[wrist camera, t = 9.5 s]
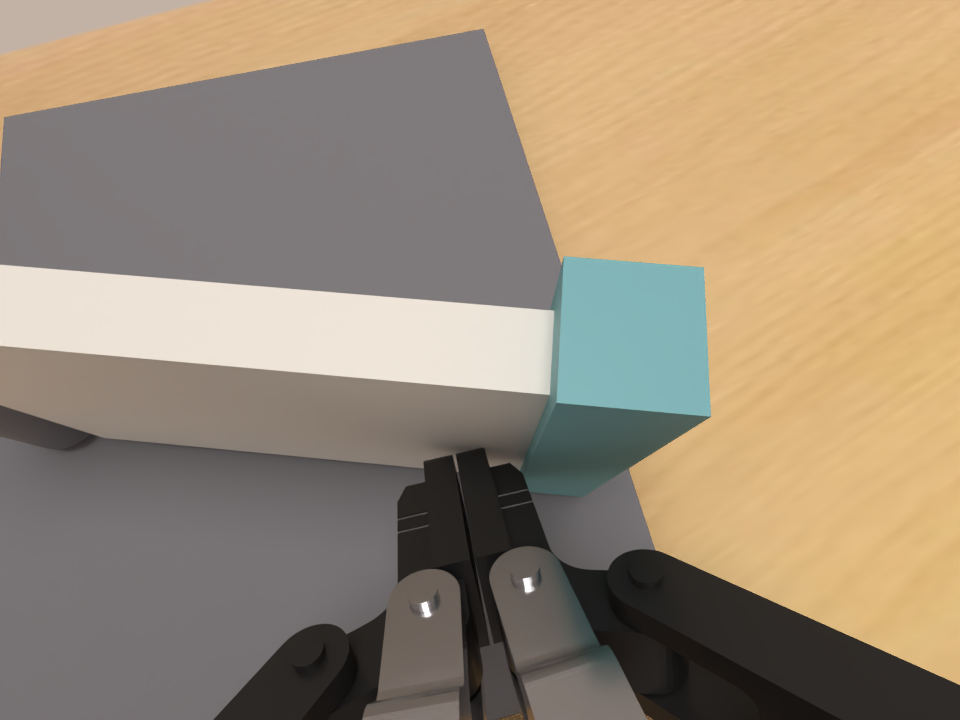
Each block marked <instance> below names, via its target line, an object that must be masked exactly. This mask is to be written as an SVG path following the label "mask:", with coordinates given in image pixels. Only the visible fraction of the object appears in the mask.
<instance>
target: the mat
mask: <svg viewBox="0 0 960 720" xmlns="http://www.w3.org/2000/svg"><path fill="white" fill-rule="evenodd" d="M0 265H10V266H22V267H34V268H46V269H58V270H70V271H82V272H94V273H106V274H118V275H130V276H143V277H155V278H167V279H179V280H191V281H203V282H215V283H227V284H239V285H251V286H263V287H275V288H287V289H299V290H311V291H323V292H335V293H347V294H359V295H371V296H383V297H395V298H407V299H419V300H431V301H443V302H455V303H467V304H479V305H492V306H504V307H516V308H528V309H540V310H550V308H551V304H552V300H553V296H554V293H555V289H556V285H557V281H558V277H559V273H560V270H561V263H560V260H559V257H558V254H557V251H556V248H555V245H554V242H553V238H552V235H551V232H550V229H549V226H548V223H547V220H546V217H545V214H544V211H543V208H542V205H541V202H540V199H539V196H538V193H537V190H536V187H535V184H534V181H533V178H532V175H531V172H530V169H529V166H528V163H527V160H526V157H525V154H524V150H523V147H522V144H521V141H520V138H519V135H518V132H517V129H516V126H515V123H514V120H513V117H512V114H511V111H510V108H509V105H508V102H507V99H506V96H505V93H504V90H503V87H502V84H501V81H500V78H499V75H498V72H497V69H496V65H495V62H494V59H493V56H492V53H491V50H490V47H489V44H488V41H487V38H486V35H485V32H484V29H480V30H474V31H469V32H464V33H458V34H453V35H447V36H442V37H437V38H431V39H426V40H420V41H415V42H409V43H404V44H399V45H393V46H388V47H382V48H377V49H372V50H366V51H361V52H355V53H350V54H345V55H339V56H334V57H328V58H323V59H317V60H312V61H307V62H301V63H296V64H290V65H285V66H280V67H274V68H269V69H263V70H258V71H253V72H247V73H242V74H236V75H231V76H225V77H220V78H215V79H209V80H204V81H198V82H193V83H188V84H182V85H177V86H171V87H166V88H161V89H155V90H150V91H144V92H139V93H133V94H128V95H123V96H117V97H112V98H106V99H101V100H96V101H90V102H85V103H79V104H74V105H69V106H63V107H58V108H52V109H47V110H41V111H36V112H31V113H25V114H20V115H14V116H9V117H4V127H3V141H2V156H1V170H0ZM457 476H458V480H459V485H460V489H461V493H462V498H463V492H462V487H461V481H460V476H459V472H457ZM423 482H425V476H424V468H413V467H403V466H392V465H382V464H371V463H361V462H350V461H340V460H329V459H319V458H308V457H298V456H288V455H277V454H267V453H256V452H246V451H235V450H225V449H214V448H204V447H193V446H183V445H172V444H162V443H152V442H141V441H131V440H120V439H110V438H103V437H99V436H96V435H93V434H90V435H89V436H88V437H87V438H85V439H84V440H83V441H81V442H80V443H78V444H76V445H74V446H71V447H68V448H64V449H48V448H44V447H40V446H36V445H32V444H28V443H24V442H20V441H16V440H12V439H8V438H4V437H0V720H213V719H214V718H215V717H216V716H217V715H218V714H219V713H220V712H221V711H222V710H223V709H224V708H225V706H226V705H227V704H228V703H229V702H230V701H231V700H232V699H233V698H234V697H235V696H236V694H237V693H238V692H239V691H240V690H241V689H242V688H243V687H244V686H245V685H246V684H247V683H248V681H249V680H250V679H251V678H252V677H253V676H254V675H255V674H256V673H257V672H258V671H259V670H260V668H261V667H262V666H263V665H264V664H265V663H266V662H267V661H268V660H269V659H270V658H271V656H272V655H273V654H274V653H275V652H276V651H277V650H278V649H279V648H280V647H281V646H282V645H283V644H284V643H285V642H286V641H287V640H288V639H289V638H290V637H291V636H293V635H294V634H296V633H297V632H299V631H300V630H303V629H305V628H307V627H310V626H313V625H317V624H333V625H336V626H338V627H340V628H341V629H342V630H343V631H344V632H345V633H346V634H348V633H350V632H352V631H354V630H356V629H357V628H359V627H361V626H363V625H365V624H367V623H368V622H370V621H372V620H373V619H375V618H376V617H377V616H379V615H380V614H381V613H382V612H383V611H384V610H385V609H386V608H387V603H388V599H389V596H390V594H391V592H392V590H393V589H394V588H395V586H396V585H397V584H398V539H397V534H398V531H397V521H398V518H397V502H398V500H399V498H400V496H401V494H402V493H403V491H404V489H405V487H406V486H410V485H414V484H419V483H423ZM530 495H531V497H532V501H533V503H534V506H535V508H536V511H537V514H538V517H539V519H540V522H541V525H542V528H543V530H544V533H545V536H546V539H547V541H548V544H549V547H550V549H551V551H552V552H553V553H554V555H555V556H556V557H557V558H558V559H560V560H561V561H562V562H564V563H566V564H568V565H570V566H573V567H576V568H581V569H588V570H608V569H609V566H610V564H611V563H612V562H613V560H615V559H616V558H617V557H618V556H620V555H621V554H623V553H625V552H628V551H632V550H637V549H649V550H655V548H654V545H653V542H652V539H651V536H650V533H649V530H648V527H647V524H646V521H645V518H644V515H643V512H642V509H641V506H640V503H639V500H638V496H637V493H636V490H635V487H634V484H633V481H632V478H631V475H630V472H629V469H627V470H625V471H623V472H622V473H620V474H619V475H617V476H616V477H614V478H612V479H611V480H609V481H608V482H606V483H604V484H603V485H601V486H600V487H598V488H596V489H595V490H593V491H592V492H590V493H588V494H587V495H585V496H584V497H575V496H565V495H554V494H544V493H534V492H530ZM463 502H464V498H463ZM464 507H465V503H464ZM465 511H466V509H465ZM466 516H467V514H466ZM467 521H468V520H467ZM468 526H469V525H468ZM470 537H471V536H470ZM472 548H473V547H472ZM474 559H475V558H474ZM475 564H476V563H475ZM476 570H477V567H476ZM477 575H478V572H477ZM478 581H479V586H480V592H481V597H482V603H483V608H484V614H485V619H486V625H487V631H488V636H489V642H490V645H489V646H485V647H481V648H480V652H481V658H482V664H483V677H482V679H483V683H484V689H485V702H486V715H487V720H496V719H500V718H504V717H507V716H511V715H514V714H518V713H521V712H520V709H519V705H518V702H517V698H516V695H515V691H514V688H513V685H512V681H511V677H510V672H509V668H508V663H507V659H506V654H505V649H504V645H503V642H500V643H496V644H494V642H493V637H492V633H491V629H490V624H489V620H488V615H487V611H486V607H485V602H484V598H483V594H482V589H481V585H480V580H479V576H478Z"/></svg>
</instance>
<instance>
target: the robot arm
mask: <svg viewBox="0 0 960 720" xmlns="http://www.w3.org/2000/svg"><path fill="white" fill-rule="evenodd" d="M456 459H457V465H458V470H459V476H460V481H461V487H462V492H463V498H464V502H463V498H462V493H461V489H460V485H459V480H458V476H457V471H456V467H455V462H454V458H453V455H448V456H444V457H439V458H435V459H430V460H426V461H424V462H423V463H424V476H425V482H423V483H419V484H414V485H410V486H406V487H405V489H404V491H403V493H402V494H401V496H400V498H399V500H398V502H397V518H398V521H397V531H398V534H397V539H398V584H397V585H396V586H395V588H394V589H393V590H392V592H391V594H390V596H389V599H388V603H387V608H386V609H385V610H384V611H383V612H382V613H381V614H380V615H379V616H377V617H376V618H375V619H373V620H372V621H370V622H368V623H367V624H365V625H363V626H361V627H359V628H357V629H356V630H354V631H352V632H350V633H348V634H346V633H345V632H344V631H343V630H342V629H341V628H340V627H338V626H336V625H333V624H317V625H313V626H310V627H307V628H305V629H303V630H300V631H299V632H297V633H296V634H294V635H293V636H291V637H290V638H289V639H288V640H287V641H286V642H285V643H284V644H283V645H282V646H281V647H280V648H279V649H278V650H277V651H276V652H275V653H274V654H273V655H272V656H271V658H270V659H269V660H268V661H267V662H266V663H265V664H264V665H263V666H262V667H261V668H260V670H259V671H258V672H257V673H256V674H255V675H254V676H253V677H252V678H251V679H250V680H249V681H248V683H247V684H246V685H245V686H244V687H243V688H242V689H241V690H240V691H239V692H238V693H237V694H236V696H235V697H234V698H233V699H232V700H231V701H230V702H229V703H228V704H227V705H226V706H225V708H224V709H223V710H222V711H221V712H220V713H219V714H218V715H217V716H216V717H215V718H214V719H213V720H487V715H486V702H485V689H484V683H483V679H482V677H483V664H482V658H481V652H480V648H481V647H485V646H489V645H490V642H489V636H488V631H487V625H486V619H485V614H484V608H483V603H482V597H481V592H480V586H479V581H478V576H479V580H480V585H481V589H482V594H483V598H484V602H485V607H486V611H487V615H488V620H489V624H490V629H491V633H492V637H493V642H494V644H496V643H500V642H503V645H504V649H505V654H506V659H507V663H508V668H509V672H510V677H511V681H512V685H513V688H514V691H515V695H516V698H517V702H518V705H519V709H520V712H521V716H522V719H523V720H647V718H646V716H645V714H646V715H647V716H649V717H650V718H652V719H653V720H960V685H958V684H956V683H954V682H951V681H949V680H947V679H945V678H942V677H940V676H938V675H936V674H934V673H931V672H929V671H927V670H925V669H922V668H920V667H918V666H916V665H913V664H911V663H909V662H907V661H904V660H902V659H900V658H898V657H895V656H893V655H891V654H889V653H886V652H884V651H882V650H880V649H878V648H875V647H873V646H871V645H869V644H866V643H864V642H862V641H860V640H857V639H855V638H853V637H851V636H848V635H846V634H844V633H842V632H839V631H837V630H835V629H833V628H830V627H828V626H826V625H824V624H821V623H819V622H817V621H815V620H813V619H810V618H808V617H806V616H804V615H801V614H799V613H797V612H795V611H792V610H790V609H788V608H786V607H783V606H781V605H779V604H777V603H774V602H772V601H770V600H768V599H765V598H763V597H761V596H759V595H757V594H754V593H752V592H750V591H748V590H745V589H743V588H741V587H739V586H736V585H734V584H732V583H730V582H727V581H725V580H723V579H721V578H718V577H716V576H714V575H712V574H709V573H707V572H705V571H703V570H700V569H698V568H696V567H694V566H692V565H689V564H687V563H685V562H683V561H680V560H678V559H676V558H674V557H671V556H669V555H667V554H665V553H662V552H659V551H655V550H649V549H637V550H632V551H628V552H625V553H623V554H621V555H620V556H618V557H617V558H616V559H615V560H613V562H612V563H611V564H610V566H609V569H608V570H588V569H581V568H576V567H573V566H570V565H568V564H566V563H564V562H562V561H561V560H560V559H558V558H557V557H556V556H555V555H554V553H553V552H552V551H551V549H550V547H549V544H548V541H547V539H546V536H545V533H544V530H543V528H542V525H541V522H540V519H539V517H538V514H537V511H536V508H535V506H534V503H533V501H532V497H531V495H530V492H529V490H528V486H527V484H526V481H525V478H524V475H523V473H522V472H520V471H519V470H518V469H517V468H516V467H514V466H513V465H512V464H511V463H507V464H502V465H498V466H493V467H490V466H489V463H488V459H487V455H486V452H485V448H479V449H475V450H470V451H466V452H461V453H457V454H456ZM464 503H465V507H464ZM465 509H466V511H465ZM466 514H467V516H466ZM467 520H468V521H467ZM468 525H469V526H468ZM470 536H471V537H470ZM472 547H473V548H472ZM474 558H475V559H474ZM475 563H476V564H475ZM476 567H477V570H476ZM477 572H478V575H477Z"/></svg>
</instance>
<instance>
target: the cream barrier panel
mask: <svg viewBox="0 0 960 720" xmlns="http://www.w3.org/2000/svg"><path fill="white" fill-rule="evenodd" d="M709 417H711V410H710V389H709V368H708V347H707V325H706V304H705V283H704V267H691V266H679V265H666V264H653V263H641V262H628V261H616V260H603V259H590V258H578V257H565V256H564V258H563V262H562V266H561V270H560V273H559V277H558V281H557V285H556V289H555V293H554V296H553V300H552V304H551V308H550V310H540V309H528V308H516V307H504V306H492V305H479V304H467V303H455V302H443V301H431V300H419V299H407V298H395V297H383V296H371V295H359V294H347V293H335V292H323V291H311V290H299V289H287V288H275V287H263V286H251V285H239V284H227V283H215V282H203V281H191V280H179V279H167V278H155V277H143V276H130V275H118V274H106V273H94V272H82V271H70V270H58V269H46V268H34V267H22V266H10V265H0V437H4V438H8V439H12V440H16V441H20V442H24V443H28V444H32V445H36V446H40V447H44V448H48V449H64V448H68V447H71V446H74V445H76V444H78V443H80V442H81V441H83V440H84V439H85V438H87V437H88V436H89V435H90V434H93V435H96V436H99V437H103V438H110V439H120V440H131V441H141V442H152V443H162V444H172V445H183V446H193V447H204V448H214V449H225V450H235V451H246V452H256V453H267V454H277V455H288V456H298V457H308V458H319V459H329V460H340V461H350V462H361V463H371V464H382V465H392V466H403V467H413V468H424V463H423V462H424V461H426V460H430V459H435V458H439V457H444V456H448V455H453V458H454V462H455V467H456V471H457V472H459V470H458V465H457V459H456V454H457V453H461V452H466V451H470V450H475V449H479V448H485V452H486V455H487V459H488V463H489V466H490V467H493V466H498V465H502V464H507V463H511V464H512V465H513V466H514V467H516V468H517V469H518V470H519V471H520V472H522V473H523V475H524V478H525V481H526V484H527V486H528V490H529V492H534V493H544V494H554V495H565V496H575V497H584V496H585V495H587V494H588V493H590V492H592V491H593V490H595V489H596V488H598V487H600V486H601V485H603V484H604V483H606V482H608V481H609V480H611V479H612V478H614V477H616V476H617V475H619V474H620V473H622V472H623V471H625V470H627V469H628V468H630V467H631V466H633V465H635V464H636V463H638V462H639V461H641V460H643V459H644V458H646V457H647V456H649V455H651V454H652V453H654V452H655V451H657V450H658V449H660V448H662V447H663V446H665V445H666V444H668V443H670V442H671V441H673V440H674V439H676V438H678V437H679V436H681V435H682V434H684V433H686V432H687V431H689V430H690V429H692V428H694V427H695V426H697V425H698V424H700V423H701V422H703V421H705V420H706V419H708V418H709Z"/></svg>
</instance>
